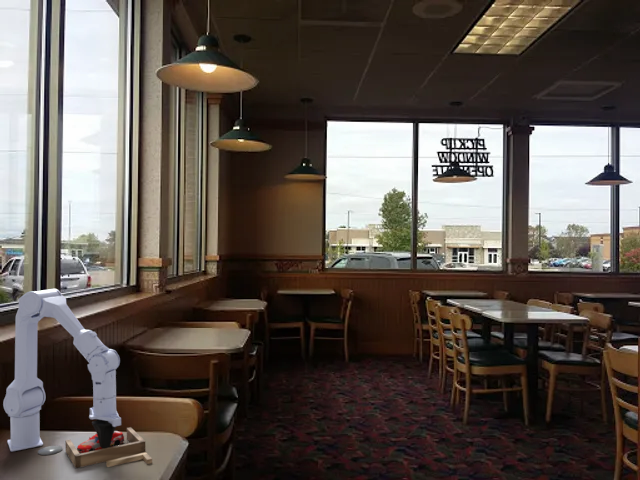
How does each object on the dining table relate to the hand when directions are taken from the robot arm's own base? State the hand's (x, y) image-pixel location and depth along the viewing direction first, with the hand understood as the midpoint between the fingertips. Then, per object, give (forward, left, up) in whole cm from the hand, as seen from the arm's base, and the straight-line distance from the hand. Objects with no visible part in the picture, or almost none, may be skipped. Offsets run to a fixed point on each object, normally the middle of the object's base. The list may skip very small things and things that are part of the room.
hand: (105, 447), depth 150 cm
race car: (-4, 0, -2) cm, 4 cm away
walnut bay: (0, 0, -1) cm, 1 cm away
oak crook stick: (+12, +3, -1) cm, 12 cm away
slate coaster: (-10, -12, -1) cm, 16 cm away
